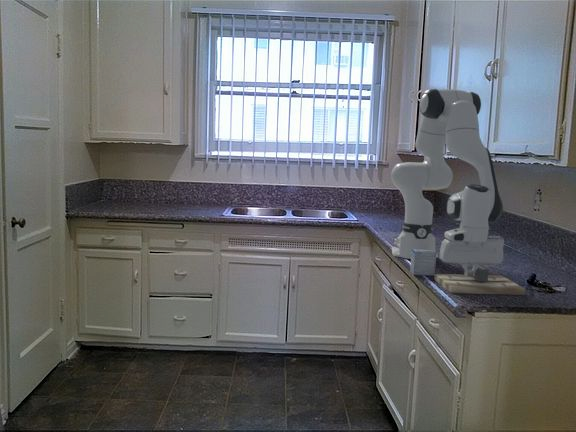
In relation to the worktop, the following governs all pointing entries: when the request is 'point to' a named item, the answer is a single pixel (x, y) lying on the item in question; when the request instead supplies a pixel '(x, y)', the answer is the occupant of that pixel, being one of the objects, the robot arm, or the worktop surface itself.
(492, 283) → the console
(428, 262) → the medicine box
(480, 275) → the fader knob
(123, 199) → the worktop surface
